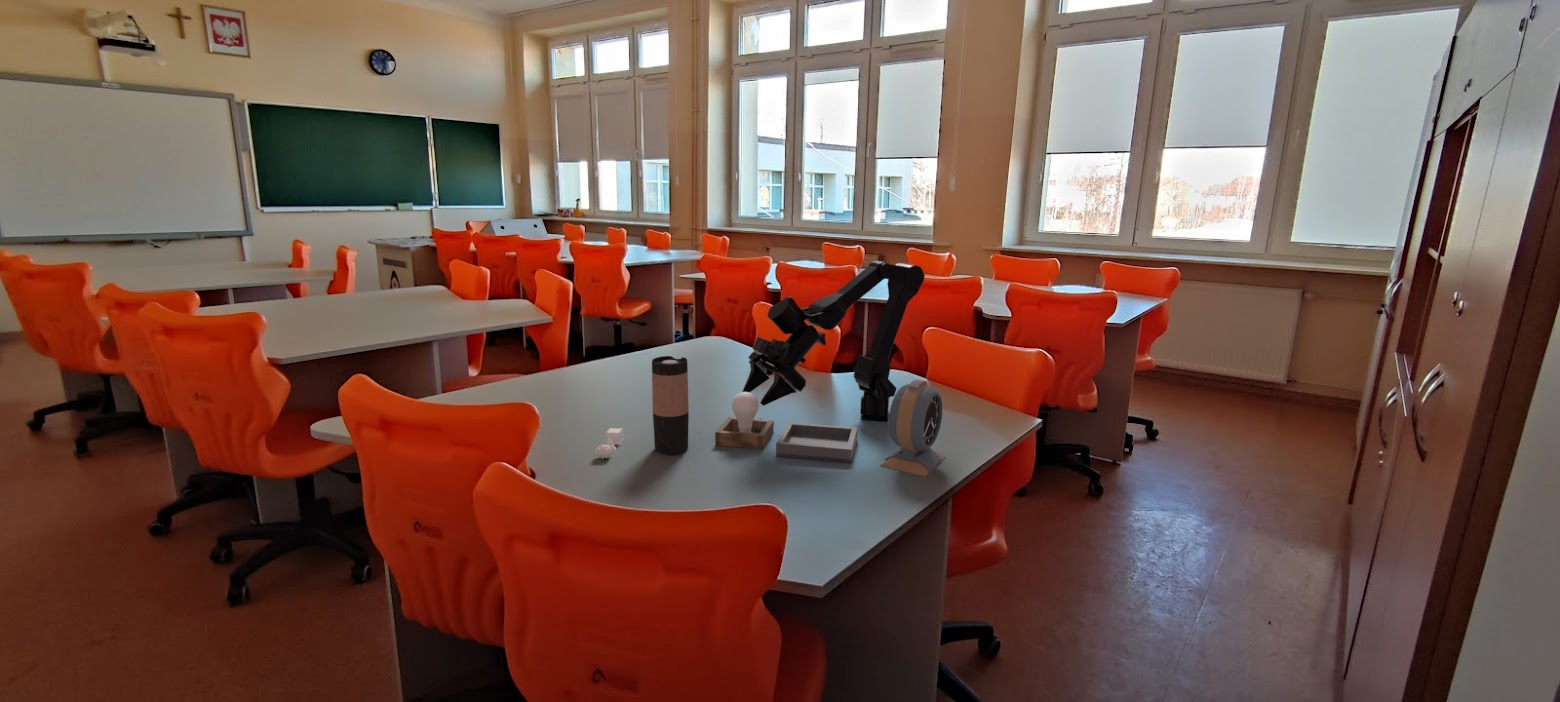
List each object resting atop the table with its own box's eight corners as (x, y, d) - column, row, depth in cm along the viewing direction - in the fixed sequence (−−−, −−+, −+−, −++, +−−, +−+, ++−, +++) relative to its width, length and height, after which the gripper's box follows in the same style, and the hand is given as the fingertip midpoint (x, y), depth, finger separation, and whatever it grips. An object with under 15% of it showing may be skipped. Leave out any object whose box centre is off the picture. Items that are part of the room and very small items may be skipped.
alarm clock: (922, 478, 139) (928, 393, 135) (877, 467, 144) (881, 385, 140) (946, 456, 151) (952, 377, 147) (904, 446, 156) (908, 370, 152)
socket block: (773, 432, 164) (773, 420, 163) (763, 449, 153) (763, 436, 153) (728, 428, 166) (728, 416, 165) (715, 445, 155) (715, 432, 155)
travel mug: (660, 457, 148) (657, 365, 143) (649, 446, 154) (646, 357, 150) (694, 452, 151) (693, 362, 146) (682, 440, 158) (680, 354, 153)
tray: (857, 440, 160) (857, 427, 159) (851, 463, 146) (851, 449, 146) (788, 434, 163) (788, 422, 162) (775, 456, 149) (776, 443, 149)
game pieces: (609, 441, 157) (608, 427, 157) (624, 441, 157) (623, 428, 156) (594, 461, 146) (593, 447, 145) (610, 462, 146) (609, 447, 145)
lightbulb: (762, 436, 161) (762, 390, 159) (752, 444, 156) (753, 397, 153) (737, 432, 163) (737, 387, 161) (727, 441, 158) (727, 394, 155)
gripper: (756, 317, 165) (713, 367, 162) (795, 332, 149) (747, 387, 146) (785, 347, 170) (743, 396, 168) (825, 364, 154) (780, 418, 152)
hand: (752, 398), depth 158 cm, fingers open, 9 cm apart
